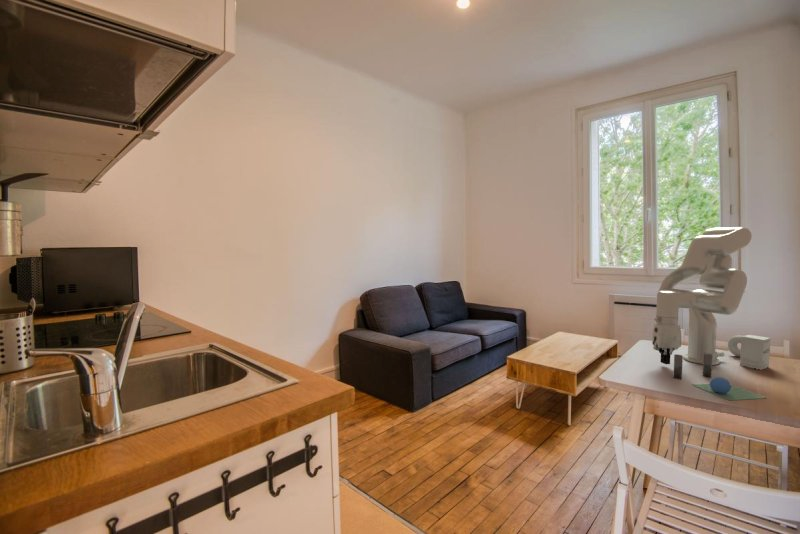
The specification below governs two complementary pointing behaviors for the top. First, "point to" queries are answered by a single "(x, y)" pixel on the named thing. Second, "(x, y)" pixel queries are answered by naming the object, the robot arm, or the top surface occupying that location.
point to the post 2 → (707, 365)
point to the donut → (734, 345)
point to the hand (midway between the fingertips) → (665, 363)
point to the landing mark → (731, 393)
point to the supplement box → (755, 351)
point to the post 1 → (678, 366)
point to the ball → (720, 385)
